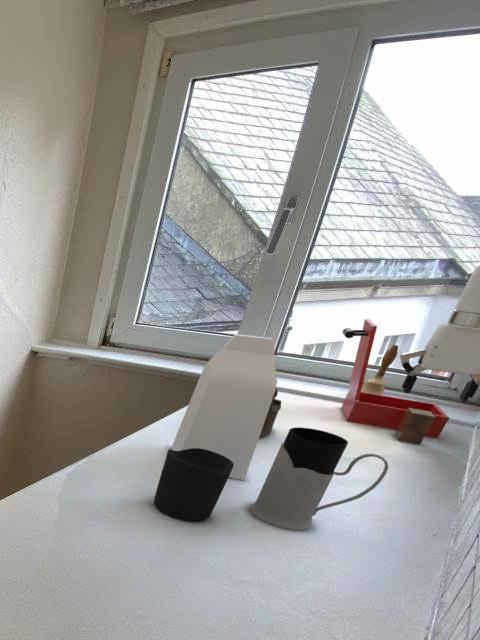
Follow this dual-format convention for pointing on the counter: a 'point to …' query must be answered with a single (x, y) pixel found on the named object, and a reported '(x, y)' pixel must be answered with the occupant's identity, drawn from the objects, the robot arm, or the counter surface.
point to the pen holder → (191, 483)
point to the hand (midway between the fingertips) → (433, 395)
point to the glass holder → (303, 478)
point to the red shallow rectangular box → (389, 411)
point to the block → (414, 426)
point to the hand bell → (380, 374)
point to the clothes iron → (271, 415)
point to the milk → (231, 402)
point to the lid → (361, 355)
